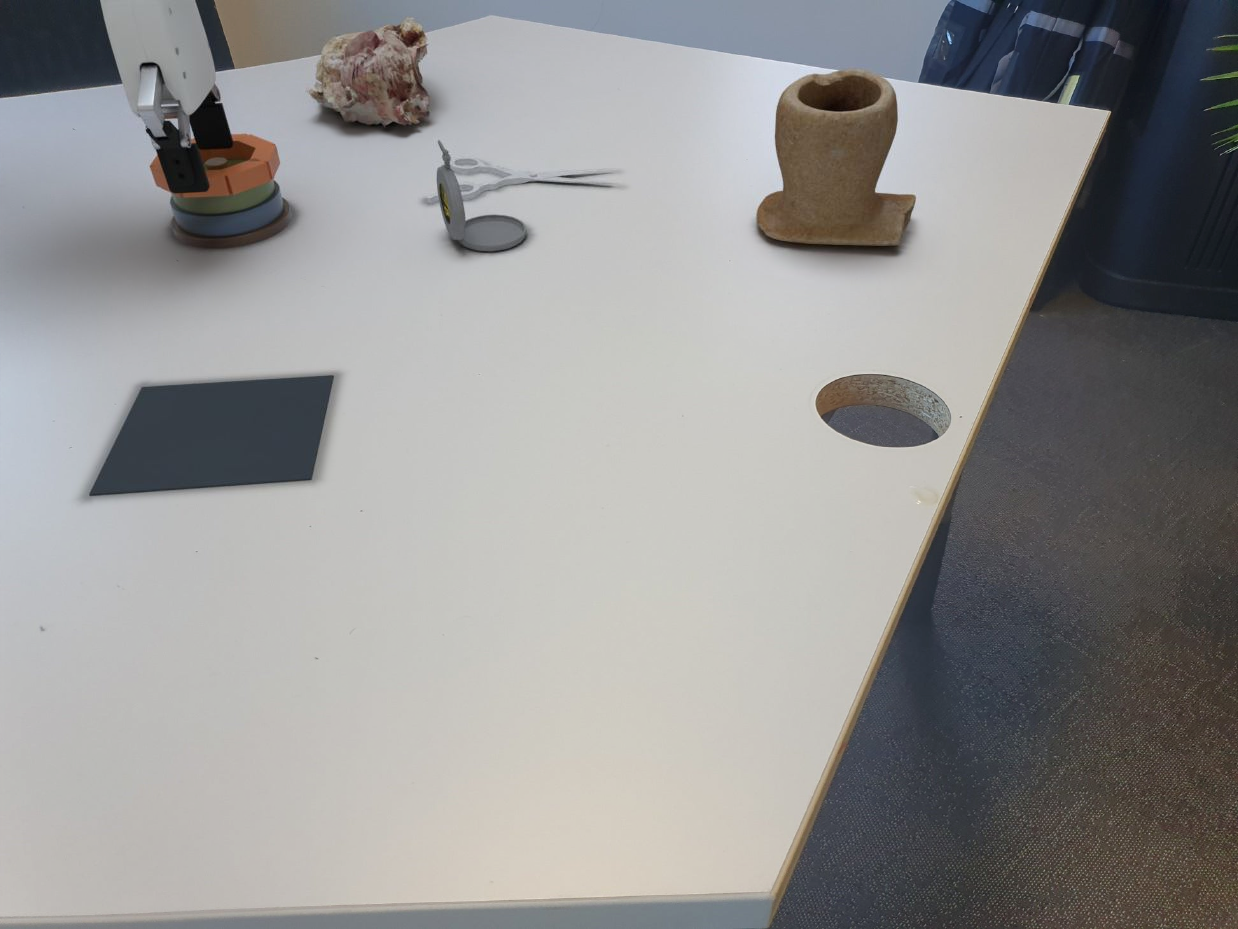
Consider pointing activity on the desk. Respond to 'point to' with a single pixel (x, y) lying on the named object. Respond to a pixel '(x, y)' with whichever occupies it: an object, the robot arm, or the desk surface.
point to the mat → (218, 435)
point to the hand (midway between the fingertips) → (204, 168)
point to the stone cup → (835, 163)
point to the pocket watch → (477, 230)
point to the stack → (230, 214)
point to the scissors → (509, 175)
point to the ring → (232, 167)
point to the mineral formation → (374, 75)
